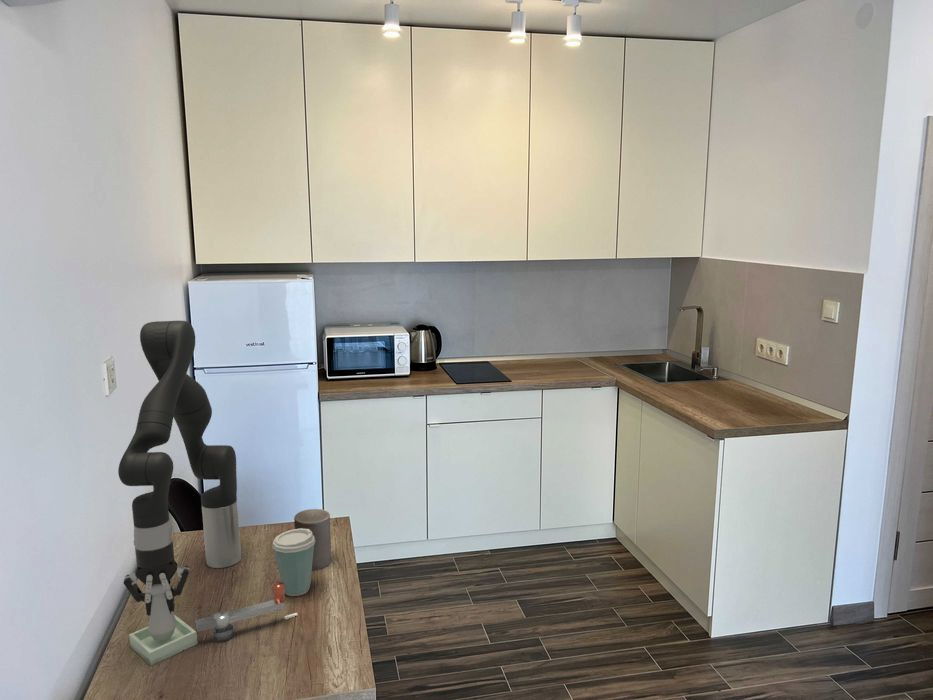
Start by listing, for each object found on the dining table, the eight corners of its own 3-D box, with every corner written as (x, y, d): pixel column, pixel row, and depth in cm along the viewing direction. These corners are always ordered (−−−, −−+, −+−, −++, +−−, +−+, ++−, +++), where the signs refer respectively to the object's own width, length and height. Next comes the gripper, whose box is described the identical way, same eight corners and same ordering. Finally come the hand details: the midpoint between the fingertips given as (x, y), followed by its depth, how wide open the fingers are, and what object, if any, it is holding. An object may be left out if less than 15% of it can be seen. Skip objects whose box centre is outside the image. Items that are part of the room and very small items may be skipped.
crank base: (209, 637, 159) (209, 629, 159) (227, 628, 162) (226, 620, 162) (219, 644, 156) (218, 636, 156) (237, 636, 159) (236, 627, 159)
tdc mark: (285, 619, 166) (285, 617, 166) (284, 618, 166) (284, 616, 166) (297, 616, 167) (297, 614, 167) (296, 614, 168) (296, 612, 168)
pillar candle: (289, 568, 191) (286, 516, 188) (306, 552, 200) (304, 502, 197) (322, 572, 188) (319, 520, 185) (338, 556, 197) (336, 506, 195)
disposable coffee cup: (276, 604, 173) (272, 547, 170) (273, 583, 183) (270, 529, 180) (320, 596, 176) (317, 540, 173) (315, 576, 186) (312, 523, 183)
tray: (130, 646, 156) (129, 634, 155) (175, 626, 163) (174, 615, 163) (151, 665, 149) (149, 652, 148) (197, 643, 157) (196, 631, 156)
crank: (198, 638, 155) (195, 609, 154) (196, 630, 158) (193, 602, 157) (287, 614, 164) (285, 586, 163) (283, 606, 167) (281, 580, 166)
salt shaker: (166, 644, 152) (161, 589, 150) (143, 642, 154) (137, 587, 151) (182, 629, 158) (177, 576, 156) (159, 627, 159) (154, 574, 157)
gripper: (189, 529, 158) (196, 600, 161) (120, 538, 153) (128, 611, 156) (187, 543, 151) (194, 617, 154) (115, 554, 146) (123, 629, 149)
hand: (161, 614), depth 155 cm, fingers closed on salt shaker, 3 cm apart
